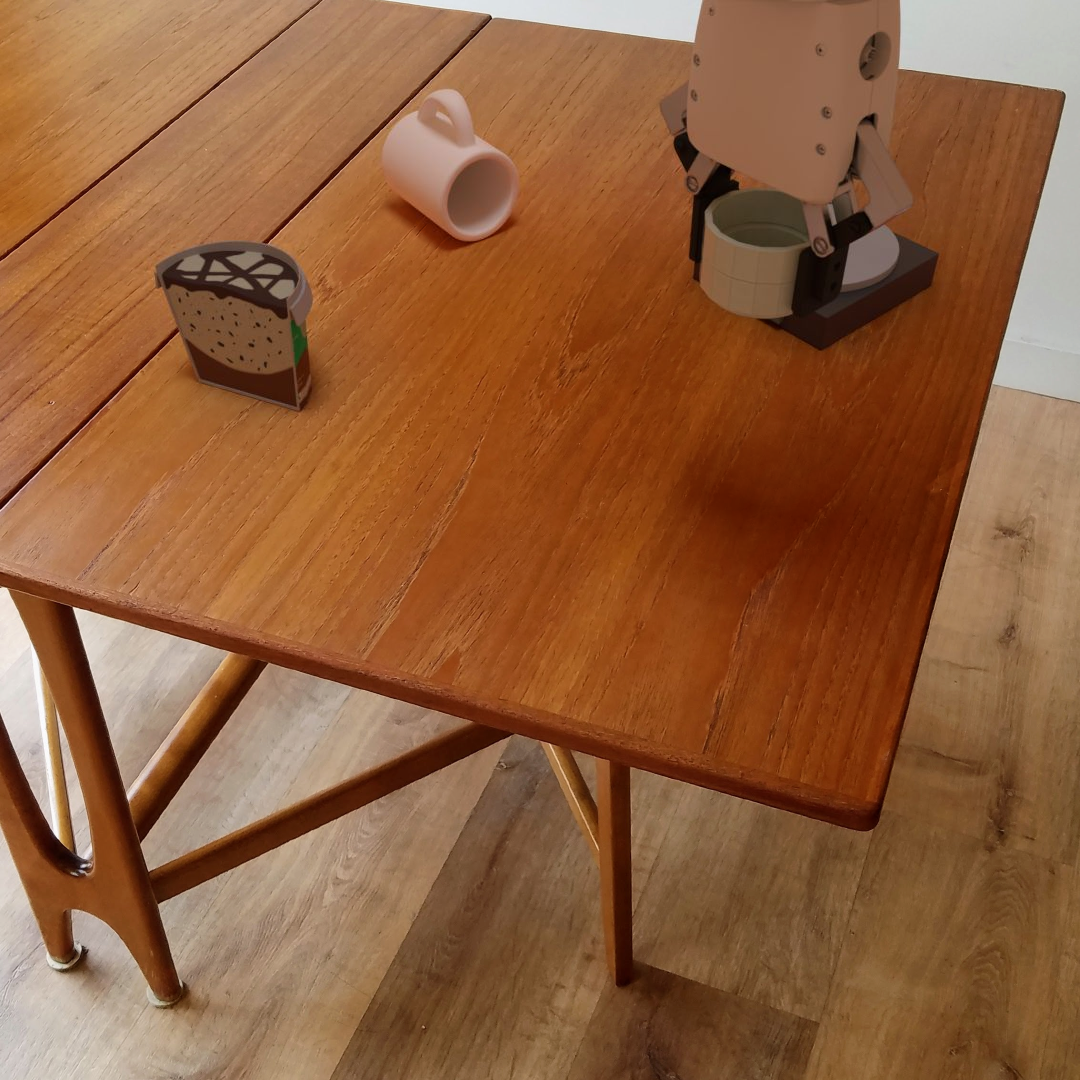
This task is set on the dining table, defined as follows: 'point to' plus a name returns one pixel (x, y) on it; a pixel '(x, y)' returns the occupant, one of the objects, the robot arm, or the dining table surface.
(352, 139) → the dining table surface
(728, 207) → the bowl
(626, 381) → the dining table surface
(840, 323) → the scale
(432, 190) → the mug
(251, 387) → the food container
